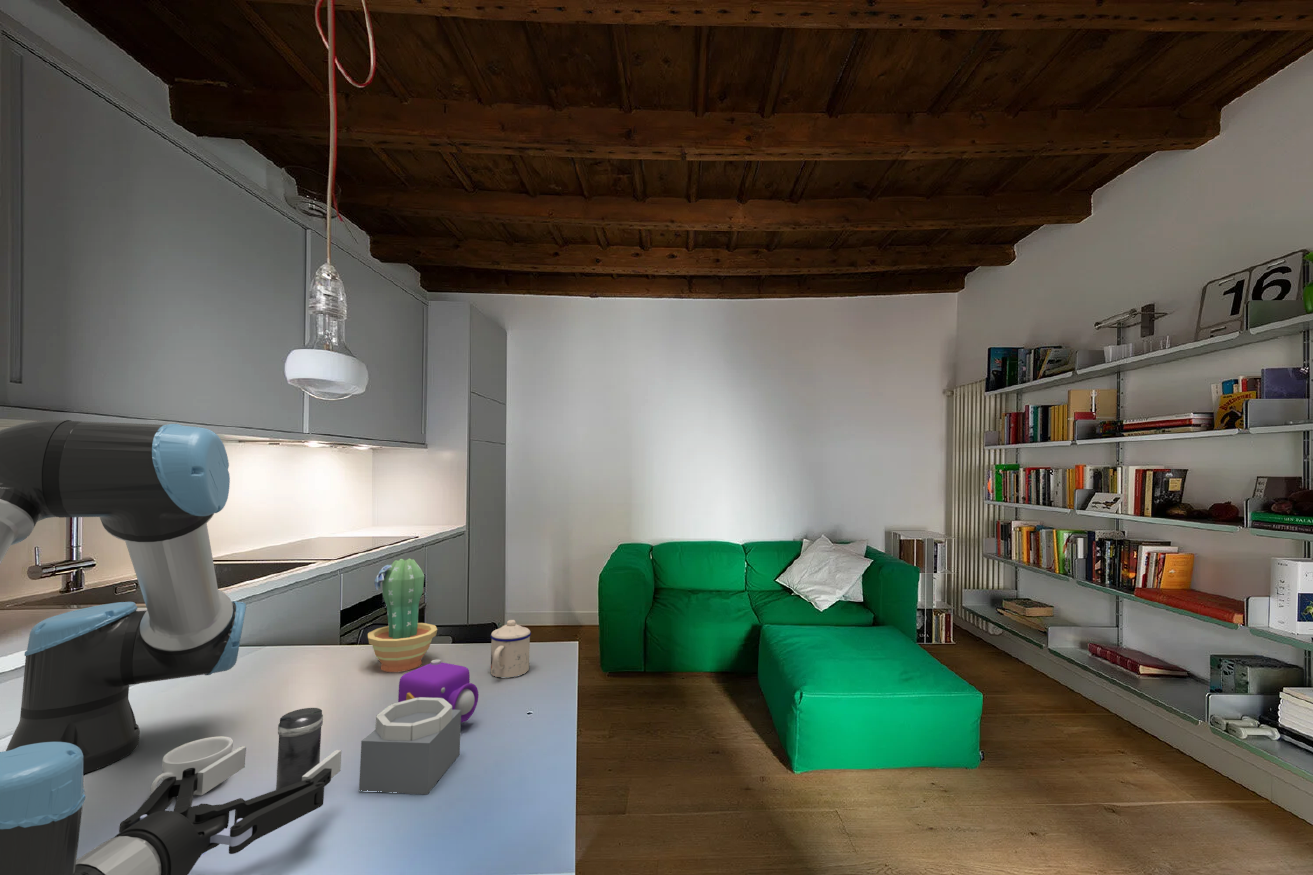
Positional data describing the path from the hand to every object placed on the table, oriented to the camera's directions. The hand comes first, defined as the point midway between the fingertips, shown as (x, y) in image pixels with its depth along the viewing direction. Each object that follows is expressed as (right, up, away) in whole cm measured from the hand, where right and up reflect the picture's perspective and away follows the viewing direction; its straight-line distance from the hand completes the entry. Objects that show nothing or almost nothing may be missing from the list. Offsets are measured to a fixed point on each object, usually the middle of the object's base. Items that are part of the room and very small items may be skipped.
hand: (290, 758), depth 73 cm
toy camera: (+11, -9, +24) cm, 28 cm away
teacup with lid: (+16, -11, +49) cm, 53 cm away
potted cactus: (-11, -11, +54) cm, 56 cm away
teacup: (-16, -7, +3) cm, 18 cm away
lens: (0, -6, +2) cm, 7 cm away
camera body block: (+13, -7, +8) cm, 17 cm away
